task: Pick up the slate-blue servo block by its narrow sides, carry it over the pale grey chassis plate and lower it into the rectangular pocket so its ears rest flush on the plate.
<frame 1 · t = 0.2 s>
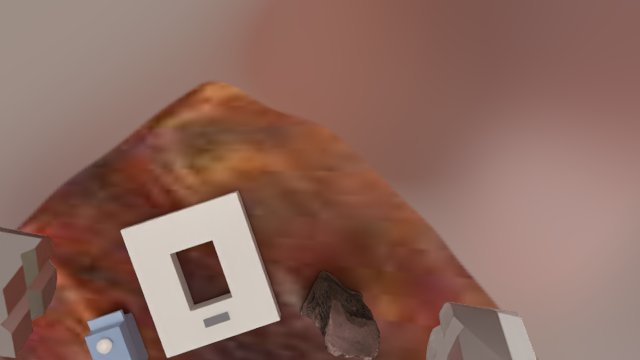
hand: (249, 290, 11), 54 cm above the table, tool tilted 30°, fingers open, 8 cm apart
chassis: (204, 270, 65), on the table
servo: (124, 339, 66), on the table
statue: (334, 294, 67), on the table
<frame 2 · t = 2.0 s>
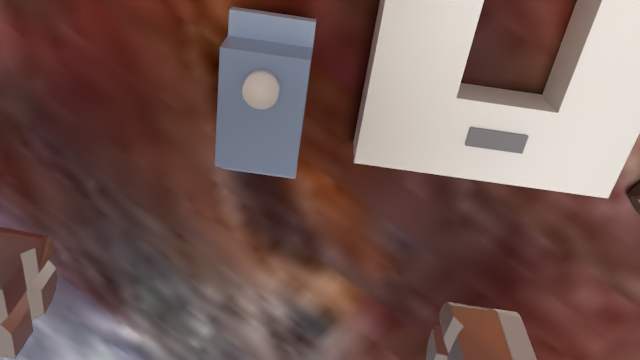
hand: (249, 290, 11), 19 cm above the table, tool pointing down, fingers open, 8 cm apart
chassis: (516, 20, 27), on the table
servo: (272, 79, 29), on the table
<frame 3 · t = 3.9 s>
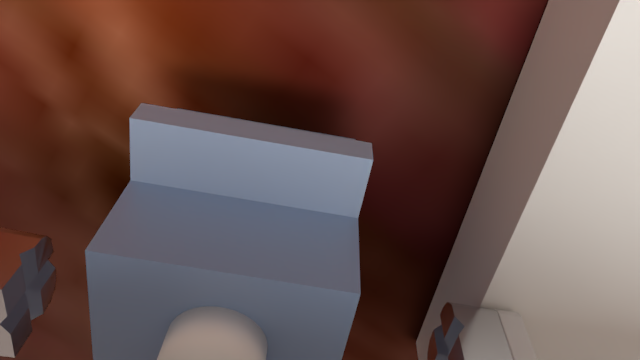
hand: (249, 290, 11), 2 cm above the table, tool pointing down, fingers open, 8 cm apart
servo: (253, 228, 14), on the table
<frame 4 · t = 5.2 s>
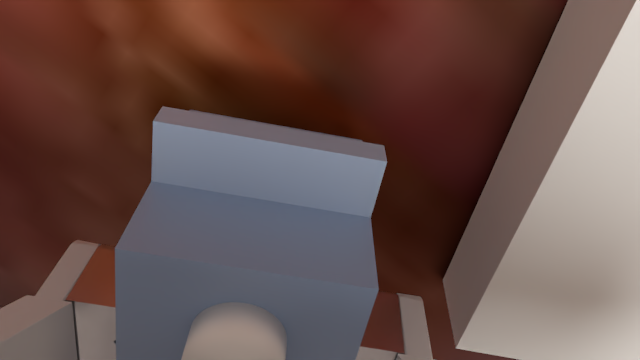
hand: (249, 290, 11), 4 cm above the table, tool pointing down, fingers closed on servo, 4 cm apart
servo: (260, 228, 14), point 1 cm above the table, touching gripper
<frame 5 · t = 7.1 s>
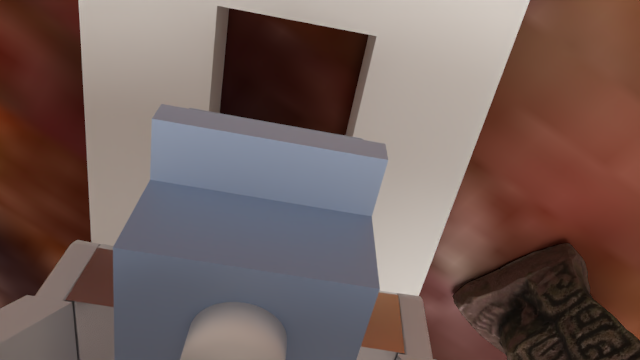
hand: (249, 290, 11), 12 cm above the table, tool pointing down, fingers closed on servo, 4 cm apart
chassis: (287, 94, 21), on the table
servo: (260, 227, 14), point 9 cm above the table, touching gripper
statue: (544, 292, 27), on the table
when the fingers open (3 cm above the table, at t = 8.7 s): servo stays where it is, resting on chassis.
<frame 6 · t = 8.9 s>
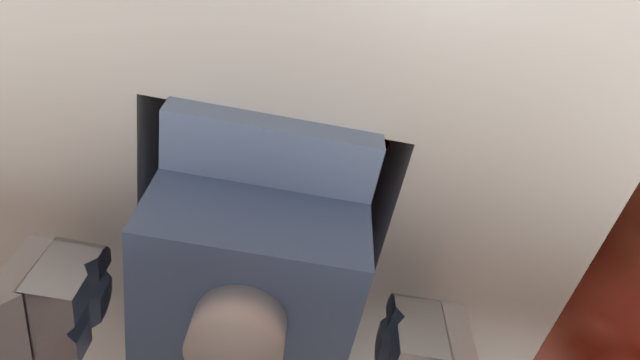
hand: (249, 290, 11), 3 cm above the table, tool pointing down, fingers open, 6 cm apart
chassis: (269, 200, 14), on the table
servo: (267, 215, 14), resting on chassis
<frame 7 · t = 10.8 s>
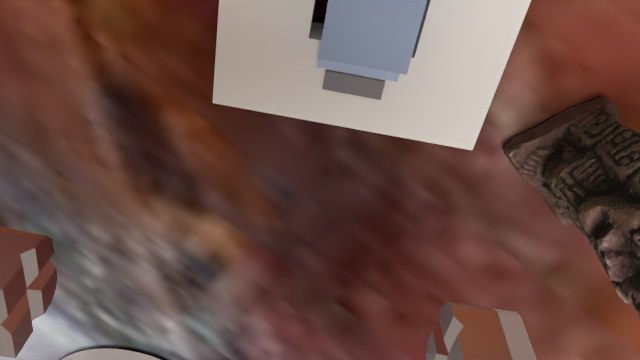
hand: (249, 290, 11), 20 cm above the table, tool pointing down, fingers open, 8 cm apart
statue: (581, 147, 31), on the table
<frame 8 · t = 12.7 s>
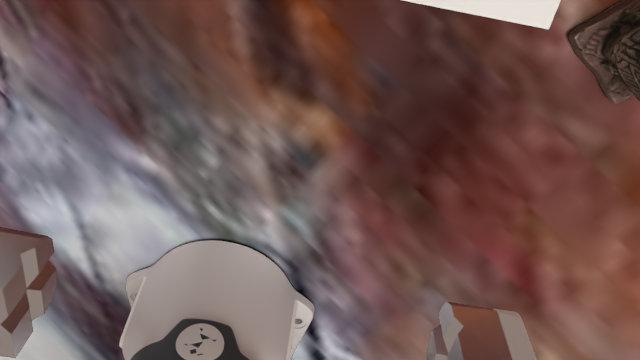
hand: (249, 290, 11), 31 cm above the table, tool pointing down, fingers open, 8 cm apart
statue: (629, 36, 39), on the table
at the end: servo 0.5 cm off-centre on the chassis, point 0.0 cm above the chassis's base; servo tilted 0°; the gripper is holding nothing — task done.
